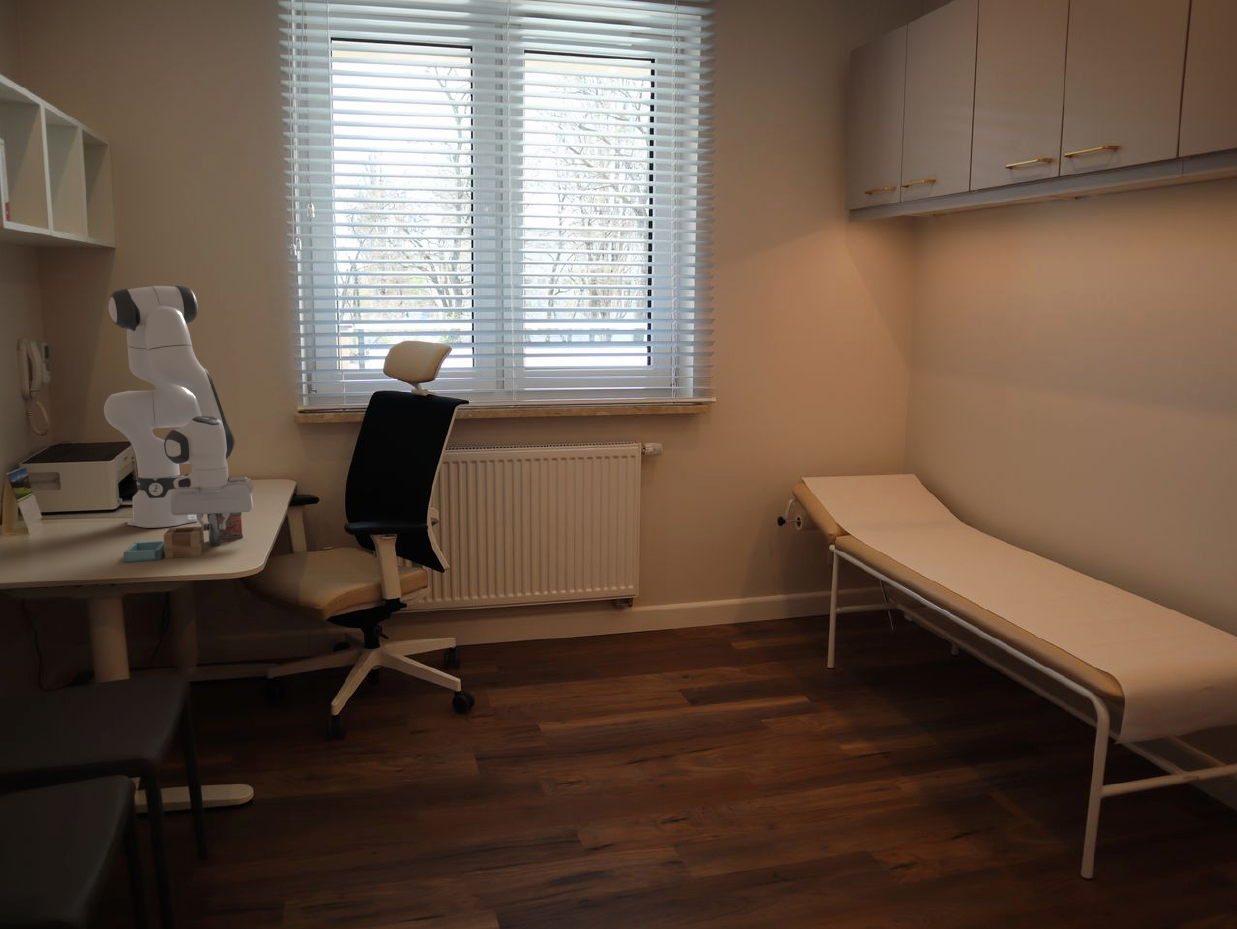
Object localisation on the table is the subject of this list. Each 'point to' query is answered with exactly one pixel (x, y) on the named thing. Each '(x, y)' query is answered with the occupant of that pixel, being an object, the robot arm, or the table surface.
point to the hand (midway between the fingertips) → (213, 529)
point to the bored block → (184, 542)
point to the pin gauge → (213, 529)
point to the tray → (145, 551)
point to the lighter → (231, 527)
